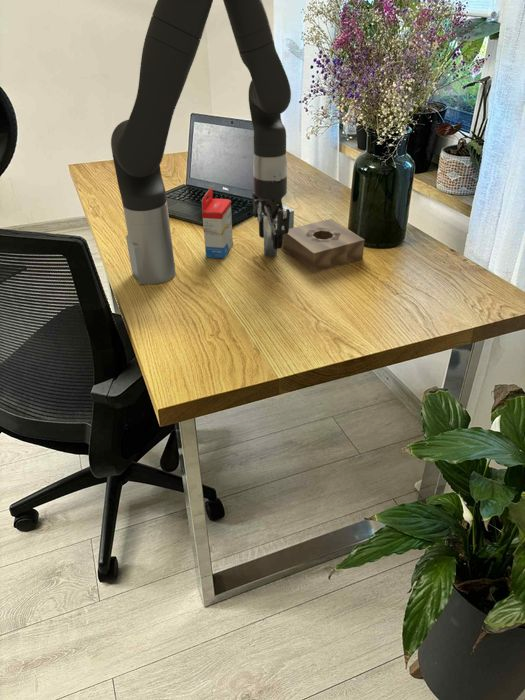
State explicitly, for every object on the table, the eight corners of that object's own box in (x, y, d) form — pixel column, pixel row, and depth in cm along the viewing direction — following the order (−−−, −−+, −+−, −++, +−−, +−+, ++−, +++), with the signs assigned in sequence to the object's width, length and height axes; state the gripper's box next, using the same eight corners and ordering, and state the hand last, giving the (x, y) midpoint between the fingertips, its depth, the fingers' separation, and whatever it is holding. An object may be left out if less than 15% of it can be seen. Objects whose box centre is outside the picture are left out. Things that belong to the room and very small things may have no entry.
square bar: (279, 239, 139) (280, 213, 135) (272, 234, 142) (272, 208, 138) (293, 236, 140) (293, 210, 136) (285, 230, 143) (285, 205, 139)
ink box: (225, 259, 131) (221, 200, 122) (205, 257, 132) (200, 199, 123) (233, 243, 137) (230, 187, 129) (214, 242, 138) (210, 185, 129)
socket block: (312, 272, 125) (313, 253, 122) (282, 249, 135) (282, 230, 132) (362, 259, 130) (364, 239, 127) (330, 236, 140) (331, 218, 137)
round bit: (267, 258, 131) (267, 219, 125) (261, 253, 133) (261, 214, 127) (279, 255, 132) (279, 216, 126) (273, 250, 134) (273, 211, 128)
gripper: (240, 167, 124) (243, 234, 134) (270, 186, 114) (271, 258, 124) (269, 161, 127) (270, 228, 137) (301, 180, 117) (299, 250, 127)
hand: (270, 242), depth 131 cm, fingers open, 6 cm apart
